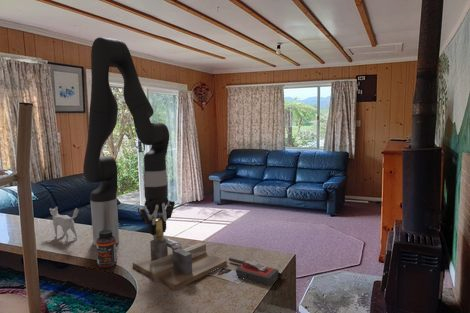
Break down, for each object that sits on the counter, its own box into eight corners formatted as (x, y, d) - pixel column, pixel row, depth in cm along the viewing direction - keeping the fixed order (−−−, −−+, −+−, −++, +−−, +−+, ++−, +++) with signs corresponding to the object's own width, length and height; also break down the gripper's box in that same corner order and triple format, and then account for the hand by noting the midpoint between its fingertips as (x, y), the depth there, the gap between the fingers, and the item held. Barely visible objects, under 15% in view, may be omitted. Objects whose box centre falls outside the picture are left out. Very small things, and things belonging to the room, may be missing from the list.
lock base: (132, 266, 111) (131, 244, 110) (183, 247, 127) (182, 227, 126) (175, 290, 97) (174, 264, 95) (226, 264, 112) (226, 242, 111)
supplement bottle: (96, 269, 110) (94, 235, 108) (98, 261, 115) (96, 229, 114) (116, 267, 111) (114, 233, 110) (117, 259, 117) (115, 227, 115)
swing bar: (183, 247, 110) (183, 226, 109) (175, 250, 108) (175, 228, 107) (159, 237, 119) (158, 217, 118) (151, 240, 117) (150, 219, 116)
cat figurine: (59, 232, 144) (56, 199, 143) (85, 242, 133) (83, 206, 131) (48, 235, 141) (45, 201, 139) (74, 245, 129) (71, 209, 127)
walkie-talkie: (285, 276, 105) (230, 261, 115) (286, 262, 104) (230, 249, 115) (273, 289, 97) (215, 272, 108) (273, 274, 97) (215, 258, 107)
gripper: (166, 178, 122) (168, 225, 124) (130, 185, 111) (133, 236, 114) (179, 181, 117) (181, 230, 119) (143, 188, 106) (146, 242, 109)
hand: (157, 233), depth 116 cm, fingers closed on swing bar, 3 cm apart
